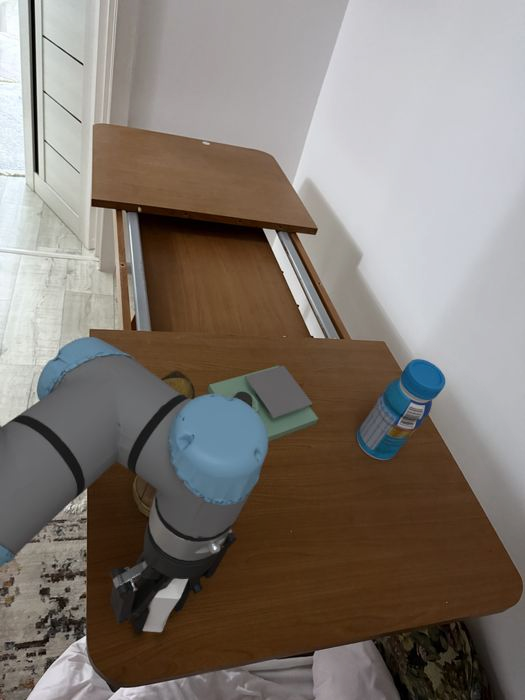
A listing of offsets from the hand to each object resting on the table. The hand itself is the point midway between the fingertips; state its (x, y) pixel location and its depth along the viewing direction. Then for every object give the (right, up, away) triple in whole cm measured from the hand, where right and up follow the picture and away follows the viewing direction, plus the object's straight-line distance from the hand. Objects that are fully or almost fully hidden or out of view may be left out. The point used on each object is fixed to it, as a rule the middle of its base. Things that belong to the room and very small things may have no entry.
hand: (155, 610), depth 63 cm
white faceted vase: (-1, -1, +1) cm, 2 cm away
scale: (+13, +22, +31) cm, 40 cm away
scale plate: (+16, +25, +30) cm, 42 cm away
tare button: (+10, +23, +26) cm, 36 cm away
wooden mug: (-2, +12, +15) cm, 20 cm away
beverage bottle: (+35, +15, +33) cm, 50 cm away
